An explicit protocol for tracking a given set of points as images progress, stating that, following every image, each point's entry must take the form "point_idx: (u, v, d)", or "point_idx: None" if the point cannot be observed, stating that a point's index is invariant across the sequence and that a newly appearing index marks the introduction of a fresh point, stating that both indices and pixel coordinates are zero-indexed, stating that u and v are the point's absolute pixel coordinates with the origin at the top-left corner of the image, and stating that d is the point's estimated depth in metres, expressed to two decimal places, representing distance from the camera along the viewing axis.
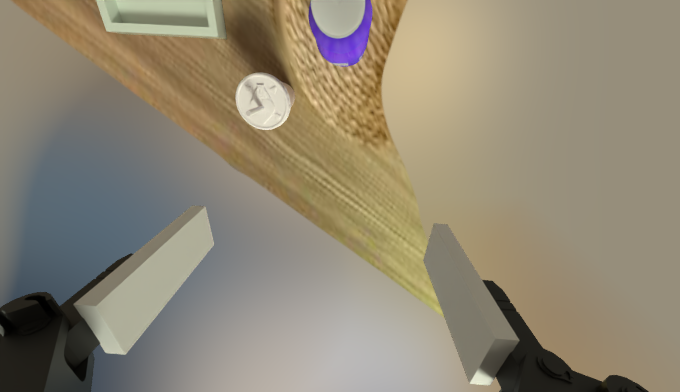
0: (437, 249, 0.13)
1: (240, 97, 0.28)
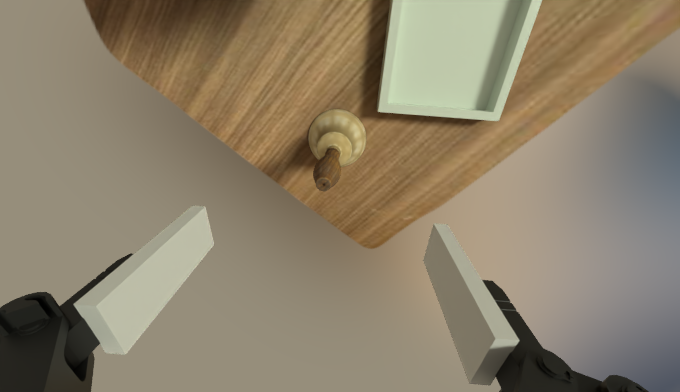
0: (437, 249, 0.13)
1: None
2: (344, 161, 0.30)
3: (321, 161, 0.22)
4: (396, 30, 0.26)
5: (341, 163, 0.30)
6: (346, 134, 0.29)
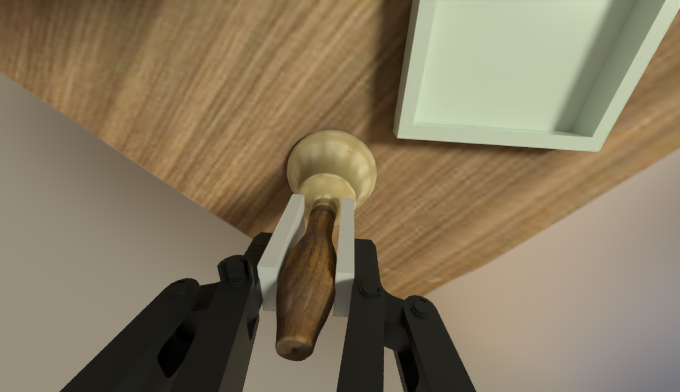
0: None
1: None
2: None
3: (294, 267, 0.10)
4: None
5: (338, 222, 0.18)
6: (345, 176, 0.17)
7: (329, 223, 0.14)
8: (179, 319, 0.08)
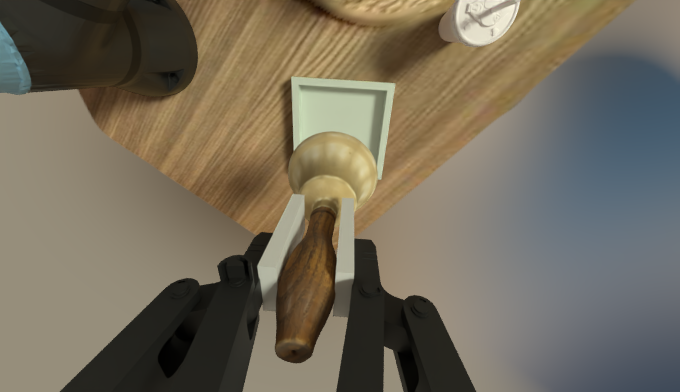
0: None
1: (474, 38, 0.26)
2: None
3: (294, 269, 0.10)
4: (298, 123, 0.38)
5: (339, 224, 0.18)
6: (346, 178, 0.17)
7: (329, 225, 0.14)
8: (179, 319, 0.08)
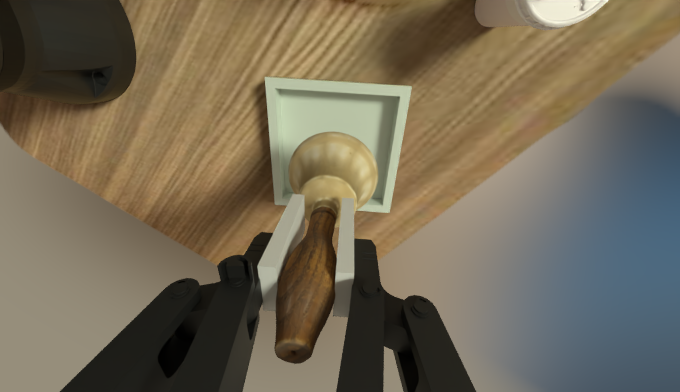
0: None
1: (552, 14, 0.16)
2: None
3: (294, 269, 0.10)
4: (276, 140, 0.27)
5: (339, 224, 0.18)
6: (347, 178, 0.17)
7: (330, 225, 0.14)
8: (179, 319, 0.08)
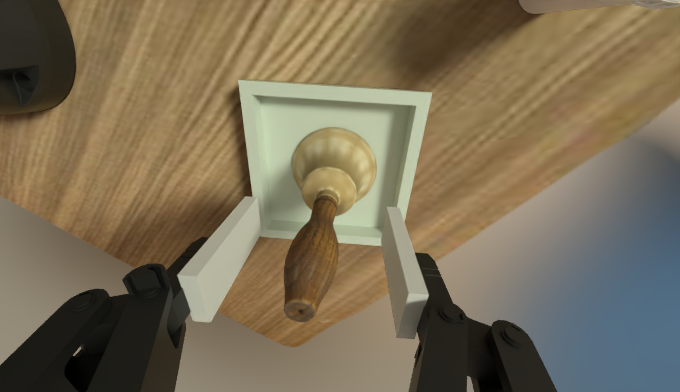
0: (387, 229, 0.14)
1: None
2: (344, 210, 0.19)
3: (299, 245, 0.11)
4: (257, 160, 0.22)
5: (340, 213, 0.20)
6: (347, 170, 0.19)
7: (331, 211, 0.16)
8: (86, 330, 0.07)
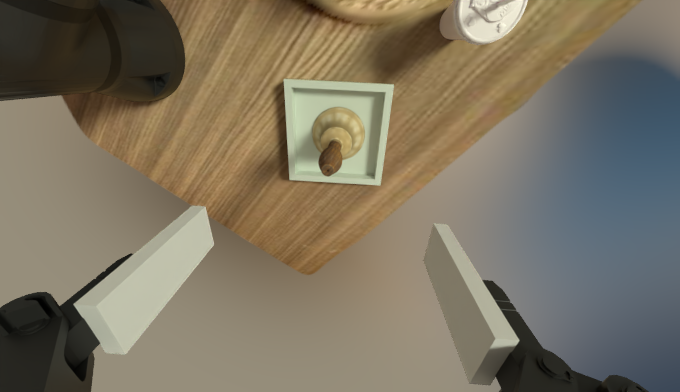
0: (437, 249, 0.13)
1: (479, 35, 0.24)
2: (345, 153, 0.33)
3: (325, 151, 0.25)
4: (291, 127, 0.36)
5: (342, 155, 0.34)
6: (346, 129, 0.33)
7: (338, 147, 0.30)
8: None
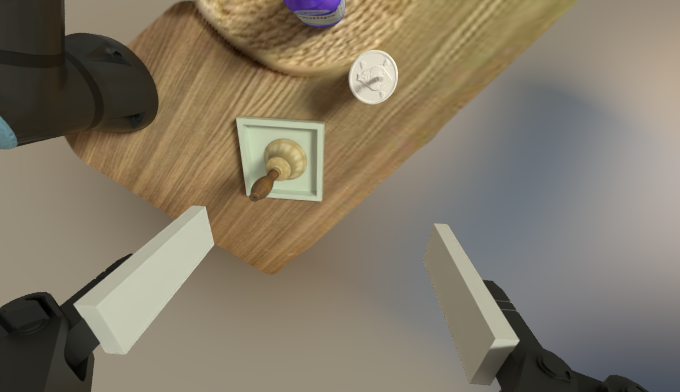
0: (437, 249, 0.13)
1: (367, 98, 0.32)
2: (285, 177, 0.42)
3: (256, 181, 0.34)
4: (245, 154, 0.44)
5: (283, 179, 0.42)
6: (285, 158, 0.41)
7: (274, 174, 0.38)
8: None
